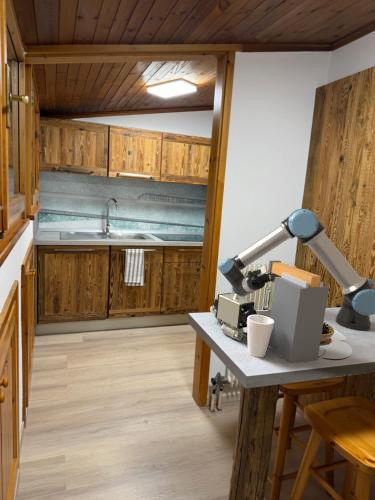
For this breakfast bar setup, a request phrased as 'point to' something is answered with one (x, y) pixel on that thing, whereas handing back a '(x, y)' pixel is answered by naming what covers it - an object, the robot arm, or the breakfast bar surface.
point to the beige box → (215, 314)
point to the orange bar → (294, 273)
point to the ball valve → (233, 313)
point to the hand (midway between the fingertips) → (281, 268)
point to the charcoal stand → (297, 318)
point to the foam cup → (258, 334)
